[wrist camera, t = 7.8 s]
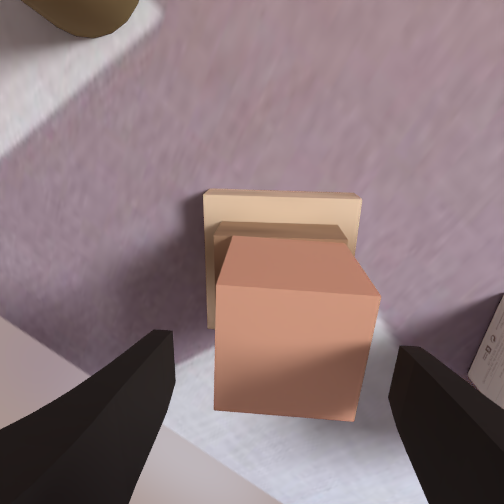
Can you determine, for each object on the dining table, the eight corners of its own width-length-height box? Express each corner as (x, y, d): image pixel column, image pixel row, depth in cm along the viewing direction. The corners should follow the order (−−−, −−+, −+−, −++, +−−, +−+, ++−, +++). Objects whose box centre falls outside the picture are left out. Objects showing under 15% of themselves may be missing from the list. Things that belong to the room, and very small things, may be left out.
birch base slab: (335, 313, 21) (343, 335, 19) (214, 307, 22) (207, 328, 19) (351, 190, 19) (362, 199, 16) (211, 186, 19) (203, 194, 17)
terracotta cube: (329, 337, 16) (354, 421, 12) (229, 330, 16) (213, 410, 12) (344, 243, 15) (381, 296, 10) (233, 235, 15) (216, 284, 10)
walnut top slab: (326, 325, 19) (334, 352, 17) (223, 320, 19) (216, 346, 17) (337, 224, 17) (348, 239, 14) (221, 221, 17) (213, 235, 15)
